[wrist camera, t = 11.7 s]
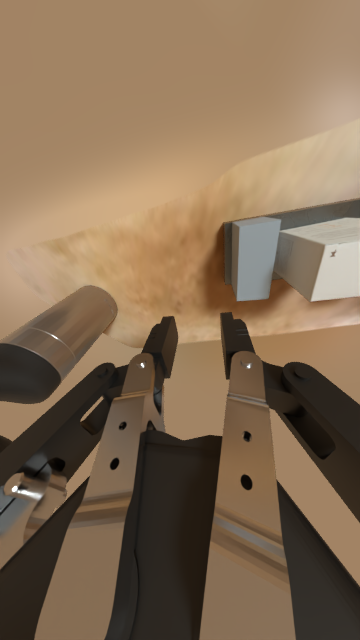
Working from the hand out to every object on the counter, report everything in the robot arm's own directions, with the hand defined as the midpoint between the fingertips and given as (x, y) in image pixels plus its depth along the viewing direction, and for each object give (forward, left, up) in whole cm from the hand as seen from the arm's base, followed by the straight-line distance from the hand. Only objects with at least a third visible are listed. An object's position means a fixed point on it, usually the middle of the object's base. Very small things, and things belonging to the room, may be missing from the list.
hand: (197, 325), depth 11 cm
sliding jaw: (+6, 0, -17) cm, 18 cm away
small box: (+15, 0, -17) cm, 23 cm away
